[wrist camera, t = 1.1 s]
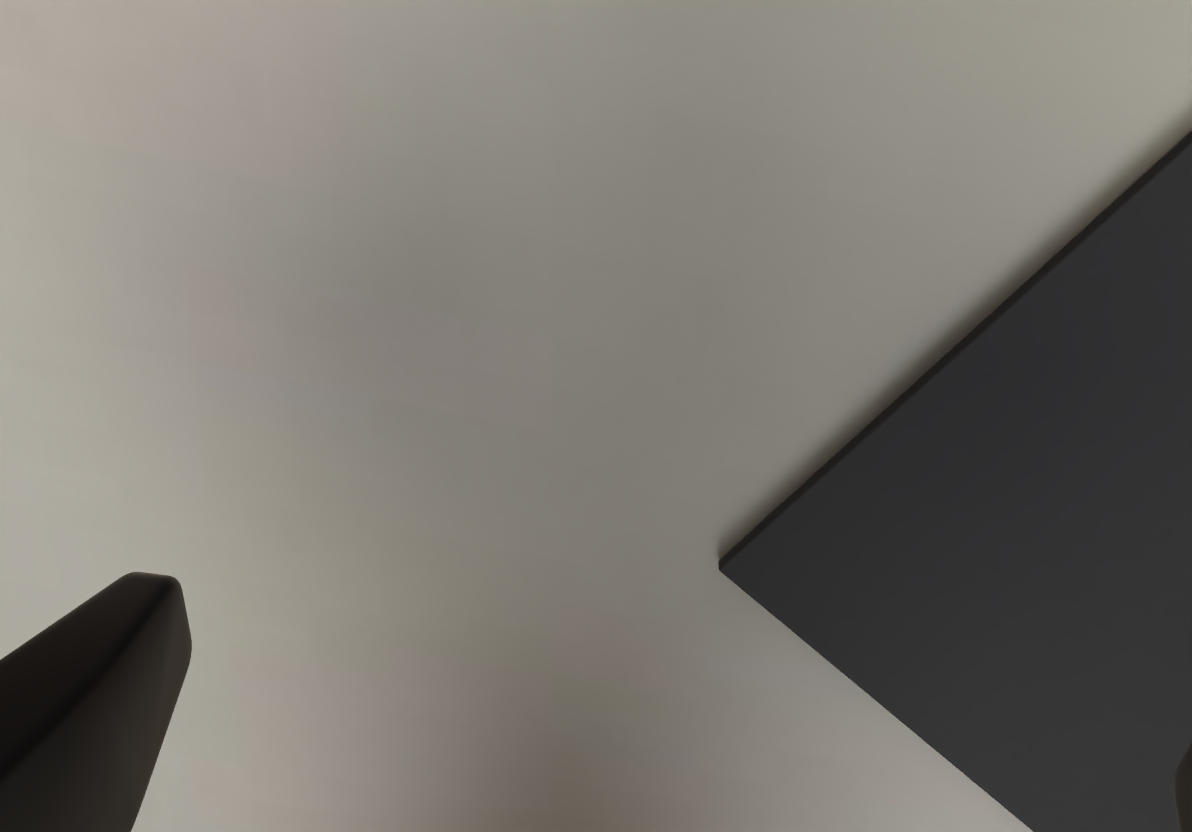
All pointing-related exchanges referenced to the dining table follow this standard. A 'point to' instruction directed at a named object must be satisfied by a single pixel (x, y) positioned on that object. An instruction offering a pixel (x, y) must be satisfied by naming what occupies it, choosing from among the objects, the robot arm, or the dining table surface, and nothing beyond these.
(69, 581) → the dining table surface
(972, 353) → the placemat
